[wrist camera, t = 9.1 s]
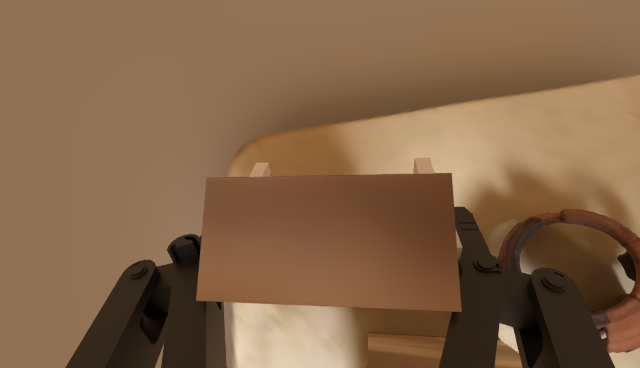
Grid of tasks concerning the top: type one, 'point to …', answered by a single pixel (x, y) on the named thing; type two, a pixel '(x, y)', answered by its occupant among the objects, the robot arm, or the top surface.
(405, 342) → the rack
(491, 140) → the top surface
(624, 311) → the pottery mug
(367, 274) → the brown rectangular block
